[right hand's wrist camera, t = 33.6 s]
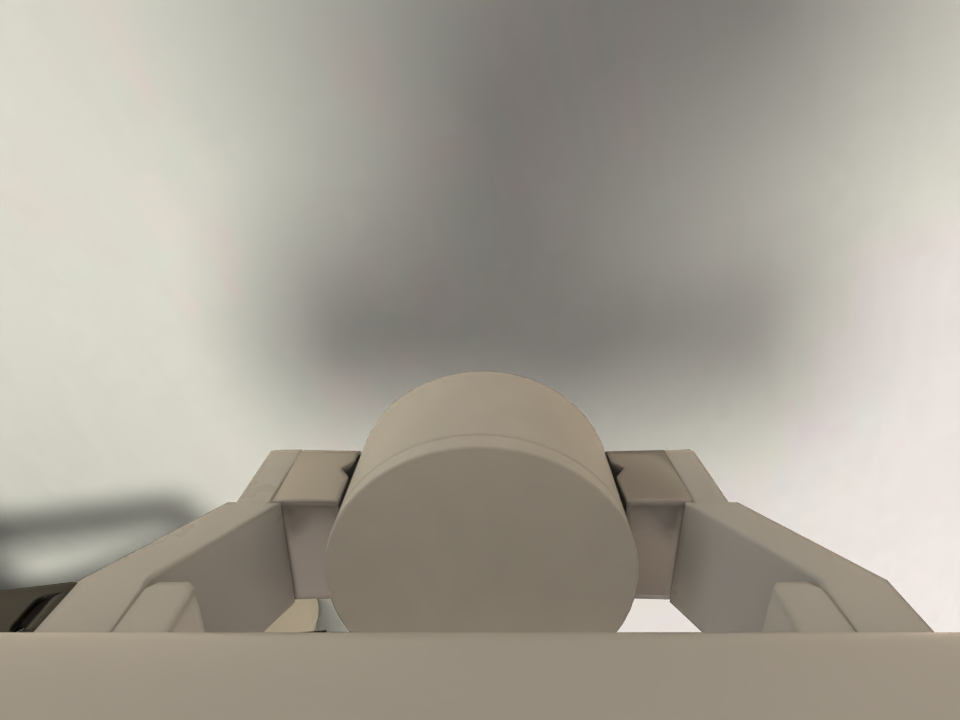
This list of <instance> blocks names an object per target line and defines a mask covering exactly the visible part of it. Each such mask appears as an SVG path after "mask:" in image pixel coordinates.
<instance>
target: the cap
mask: <svg viewBox="0 0 960 720" xmlns="http://www.w3.org/2000/svg"><path fill="white" fill-rule="evenodd" d="M325 572H326V582H327V586H328V590H329V594H330V597H331V600H332V602H333V605H334V607H335V609H336V611H337V614H338V615H339V617H340V618H341V620H342V622H343V623H344V625H345V626H346V628H347V629H348V630H349V631H350V632H617V631H618V630H619V628H620V627H621V625H622V624H623V622H624V620H625V619H626V617H627V615H628V613H629V611H630V609H631V606H632V603H633V600H634V597H635V594H636V589H637V583H638V578H639V561H638V555H637V549H636V544H635V541H634V538H633V535H632V532H631V529H630V526H629V523H628V520H627V517H626V514H625V511H624V508H623V505H622V502H621V499H620V496H619V493H618V490H617V487H616V484H615V481H614V478H613V475H612V472H611V469H610V466H609V463H608V460H607V457H606V454H605V451H604V449H603V446H602V443H601V440H600V438H599V436H598V435H597V433H596V431H595V429H594V427H593V426H592V425H591V423H590V422H589V420H588V419H587V418H586V416H585V415H584V414H583V413H582V412H581V411H580V410H579V409H578V408H577V407H576V406H575V405H574V404H573V403H571V402H570V401H569V400H568V399H566V398H565V397H564V396H562V395H561V394H559V393H558V392H556V391H554V390H553V389H551V388H549V387H547V386H545V385H543V384H541V383H538V382H536V381H533V380H531V379H528V378H524V377H521V376H517V375H513V374H507V373H501V372H486V371H476V372H464V373H458V374H453V375H448V376H444V377H441V378H438V379H435V380H432V381H429V382H427V383H425V384H423V385H421V386H419V387H417V388H415V389H413V390H411V391H410V392H408V393H407V394H405V395H404V396H402V397H401V398H399V399H398V400H397V401H396V402H395V403H394V404H393V405H391V406H390V407H389V408H388V409H387V410H386V411H385V413H384V414H383V415H382V416H381V417H380V418H379V420H378V421H377V423H376V424H375V426H374V427H373V429H372V431H371V432H370V434H369V437H368V439H367V441H366V444H365V446H364V448H363V451H362V454H361V456H360V459H359V461H358V464H357V466H356V469H355V471H354V474H353V477H352V479H351V482H350V484H349V487H348V489H347V492H346V494H345V497H344V500H343V502H342V505H341V507H340V510H339V512H338V515H337V517H336V520H335V523H334V525H333V528H332V530H331V533H330V536H329V540H328V544H327V548H326V558H325Z"/></svg>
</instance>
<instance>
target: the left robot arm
mask: <svg viewBox="0 0 960 720" xmlns="http://www.w3.org/2000/svg"><path fill="white" fill-rule="evenodd" d="M76 584H77V583H76V582H69V583H61V584H53V585H45V586H36V587H28V588H20V589H12V590H4V591H0V632H17V631H19V630H20V629H23V628H24V630H23V631H22V632H34V631H35V630H36V629H37V628H38V627H39V625H40V624H41V623H42V622H43V621H44V620H45V619H46V618H47V617H48V615H49V614H50V613H51V612H52V611H53V610H54V609H55V608H56V607H57V605H58V604H59V603H60V602H61V601H62V600H63V599H64V598H65V597H66V595H67V594H68V593H69V592H70V591H71V590H72V589H73V588H74V587H75V585H76ZM310 632H327V631H326V630H325V631H310Z"/></svg>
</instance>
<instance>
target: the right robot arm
mask: <svg viewBox="0 0 960 720" xmlns="http://www.w3.org/2000/svg"><path fill="white" fill-rule="evenodd" d="M605 454H606V457H607V460H608V463H609V466H610V469H611V472H612V475H613V478H614V481H615V484H616V487H617V490H618V493H619V496H620V499H621V502H622V505H623V508H624V511H625V514H626V517H627V520H628V523H629V526H630V529H631V532H632V535H633V538H634V541H635V544H636V549H637V555H638V561H639V578H638V583H637V589H636V594H635V597H634V598H638V599H670V602H671V603H672V604H673V605H674V606H675V607H676V608H677V609H678V610H679V611H680V612H681V613H682V614H683V615H684V616H686V617H687V618H688V619H689V620H690V621H691V622H692V623H693V624H694V625H695V626H696V627H697V628H698V629H699V630H700V631H701V632H264V631H265V630H266V629H267V628H268V627H270V626H271V625H272V624H273V623H274V622H275V621H276V620H277V619H278V618H279V617H280V616H281V615H282V614H283V613H284V612H285V611H286V610H287V609H289V608H290V607H291V606H292V605H293V604H294V603H295V599H326V598H331V597H330V594H329V590H328V586H327V582H326V572H325V558H326V548H327V544H328V540H329V536H330V533H331V530H332V528H333V525H334V523H335V520H336V517H337V515H338V512H339V510H340V507H341V505H342V502H343V500H344V497H345V494H346V492H347V489H348V487H349V484H350V482H351V479H352V477H353V474H354V471H355V469H356V466H357V464H358V461H359V459H360V456H361V451H330V450H304V451H303V450H301V449H300V450H274V451H271V452H270V453H269V455H268V456H267V458H266V459H265V461H264V462H263V464H262V465H261V467H260V468H259V470H258V471H257V473H256V474H255V476H254V477H253V479H252V480H251V482H250V483H249V485H248V486H247V488H246V489H245V491H244V492H243V494H242V495H241V497H240V498H239V500H238V501H237V502H233V503H226V504H224V505H222V506H220V507H218V508H216V509H214V510H212V511H211V512H209V513H207V514H205V515H203V516H201V517H199V518H197V519H195V520H193V521H191V522H190V523H188V524H186V525H184V526H182V527H180V528H178V529H176V530H174V531H172V532H170V533H169V534H167V535H165V536H163V537H161V538H159V539H157V540H155V541H153V542H151V543H150V544H148V545H146V546H144V547H142V548H140V549H138V550H136V551H134V552H132V553H130V554H129V555H127V556H125V557H123V558H121V559H119V560H117V561H115V562H113V563H111V564H109V565H108V566H106V567H104V568H102V569H100V570H98V571H96V572H94V573H92V574H90V575H88V576H87V577H85V578H83V579H81V580H80V581H79V582H78V583H77V584H76V585H75V587H74V588H73V589H72V590H71V591H70V592H69V593H68V594H67V595H66V597H65V598H64V599H63V600H62V601H61V602H60V603H59V604H58V605H57V607H56V608H55V609H54V610H53V611H52V612H51V613H50V614H49V615H48V617H47V618H46V619H45V620H44V621H43V622H42V623H41V624H40V625H39V627H38V628H37V629H36V630H35V631H34V632H0V720H960V632H934V631H933V630H932V629H931V628H930V627H929V626H928V625H927V624H926V622H925V621H924V620H923V619H922V618H921V617H920V616H919V615H918V614H917V613H916V611H915V610H914V609H913V608H912V607H911V606H910V605H909V604H908V603H907V602H906V600H905V599H904V598H903V597H902V596H901V595H900V594H899V593H898V592H897V591H896V589H895V588H894V587H893V586H892V585H891V584H890V583H889V582H888V581H887V580H886V579H884V578H882V577H880V576H878V575H876V574H874V573H872V572H870V571H868V570H866V569H864V568H863V567H861V566H859V565H857V564H855V563H853V562H851V561H849V560H847V559H845V558H843V557H841V556H840V555H838V554H836V553H834V552H832V551H830V550H828V549H826V548H824V547H822V546H820V545H818V544H817V543H815V542H813V541H811V540H809V539H807V538H805V537H803V536H801V535H799V534H797V533H795V532H794V531H792V530H790V529H788V528H786V527H784V526H782V525H780V524H778V523H776V522H774V521H772V520H770V519H769V518H767V517H765V516H763V515H761V514H759V513H757V512H755V511H753V510H751V509H749V508H747V507H746V506H744V505H742V504H740V503H733V502H728V501H727V499H726V498H725V496H724V495H723V493H722V492H721V490H720V489H719V487H718V486H717V485H716V483H715V482H714V480H713V479H712V477H711V476H710V474H709V473H708V471H707V470H706V469H705V467H704V466H703V464H702V463H701V461H700V460H699V458H698V457H697V455H696V454H695V453H694V451H692V450H689V449H684V450H650V451H609V452H605Z"/></svg>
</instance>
